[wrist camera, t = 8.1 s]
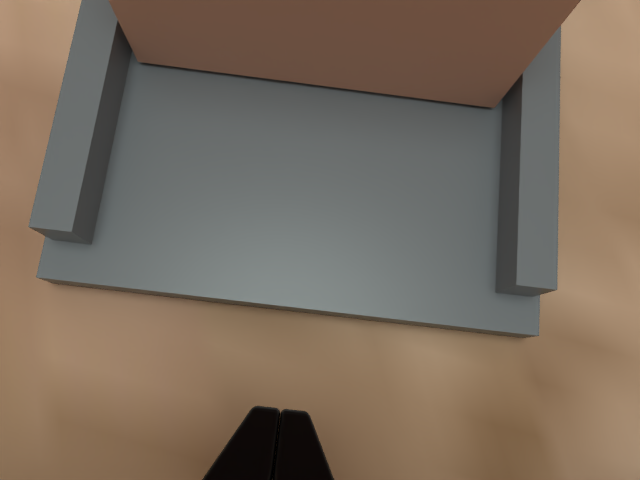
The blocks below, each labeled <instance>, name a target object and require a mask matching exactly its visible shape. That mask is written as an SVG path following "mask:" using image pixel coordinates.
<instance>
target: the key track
mask: <svg viewBox="0 0 640 480" xmlns="http://www.w3.org/2000/svg"><path fill="white" fill-rule="evenodd" d="M560 48H561V26H560V27H559V28H558V29H557V31H556V32H555V33H554V34H553V36H552V37H551V38H550V39H549V41H548V42H547V43H546V44H545V46H544V47H543V48H542V49H541V51H540V52H539V53H538V54H537V56H536V57H535V58H534V59H533V61H532V62H531V63H530V64H529V66H528V67H527V68H526V69H525V71H524V72H523V73H522V74H521V76H520V77H519V78H518V79H517V81H516V82H515V83H514V84H513V86H512V87H511V88H510V89H509V91H508V92H507V93H506V94H505V96H504V97H503V98H502V99H501V100H500V102H499V103H498V104H497V105H496V107H495V108H490V107H483V106H475V105H467V104H460V103H452V102H444V101H436V100H429V99H421V98H413V97H405V96H398V95H390V94H382V93H375V92H367V91H359V90H351V89H344V88H336V87H328V86H320V85H313V84H305V83H297V82H290V81H282V80H274V79H266V78H259V77H251V76H243V75H235V74H228V73H220V72H212V71H205V70H197V69H189V68H181V67H174V66H166V65H158V64H150V63H143V62H138V61H137V59H136V56H135V54H134V52H133V50H132V48H131V46H130V44H129V42H128V40H127V38H126V36H125V34H124V32H123V30H122V28H121V26H120V23H119V21H118V19H117V17H116V15H115V13H114V11H113V9H112V7H111V5H110V3H109V1H108V0H82V1H81V6H80V10H79V14H78V18H77V23H76V27H75V31H74V35H73V40H72V44H71V48H70V52H69V57H68V61H67V65H66V69H65V74H64V78H63V82H62V86H61V91H60V95H59V99H58V103H57V108H56V112H55V116H54V120H53V125H52V129H51V133H50V137H49V142H48V146H47V150H46V154H45V159H44V163H43V167H42V171H41V175H40V180H39V184H38V188H37V192H36V197H35V201H34V205H33V209H32V214H31V218H30V222H29V226H28V227H30V228H32V229H33V230H35V231H37V232H39V233H41V234H43V235H44V236H45V241H44V245H43V250H42V254H41V258H40V263H39V267H38V271H37V276H36V277H37V278H39V279H42V280H45V281H48V282H50V283H56V284H64V285H73V286H81V287H90V288H99V289H107V290H116V291H124V292H133V293H142V294H150V295H159V296H167V297H176V298H185V299H193V300H202V301H210V302H219V303H228V304H236V305H245V306H253V307H262V308H271V309H279V310H288V311H296V312H305V313H314V314H322V315H331V316H340V317H348V318H357V319H365V320H374V321H383V322H391V323H400V324H408V325H417V326H426V327H434V328H443V329H451V330H460V331H469V332H477V333H486V334H494V335H503V336H512V337H520V338H526V337H534V336H539V311H540V295H541V294H544V293H548V292H551V291H555V290H557V265H558V193H559V120H560Z"/></svg>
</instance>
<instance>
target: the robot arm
mask: <svg viewBox="0 0 640 480" xmlns="http://www.w3.org/2000/svg"><path fill="white" fill-rule="evenodd" d="M279 420H280V423H279ZM278 428H279V431H278ZM277 437H278V439H277ZM276 445H277V447H276ZM275 453H276V455H275ZM274 462H275V463H274ZM273 470H274V471H273ZM272 478H273V479H272ZM202 480H334V478H333V475H332V473H331V470H330V467H329V465H328V462H327V460H326V457H325V454H324V452H323V449H322V446H321V444H320V441H319V438H318V436H317V433H316V430H315V428H314V425H313V423H312V420H311V417H310V415H309V414H308V413H307V412H305V411H298V410H289V409H284V410H282V412H281V415H280V411H279V409H277V408H272V407H263V406H255V407H253V408H252V409H251V410H250V412H249V413H248V414H247V416H246V417H245V419H244V420H243V422H242V423H241V424H240V426H239V427H238V429H237V430H236V432H235V433H234V435H233V436H232V437H231V439H230V440H229V442H228V443H227V445H226V446H225V447H224V449H223V450H222V452H221V453H220V455H219V456H218V458H217V459H216V460H215V462H214V463H213V465H212V466H211V468H210V469H209V470H208V472H207V473H206V475H205V476H204V478H203V479H202Z"/></svg>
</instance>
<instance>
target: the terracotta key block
mask: <svg viewBox="0 0 640 480" xmlns="http://www.w3.org/2000/svg"><path fill="white" fill-rule="evenodd" d="M108 1H109V3H110V5H111V7H112V9H113V11H114V13H115V15H116V17H117V19H118V21H119V23H120V26H121V28H122V30H123V32H124V34H125V36H126V38H127V40H128V42H129V44H130V46H131V48H132V50H133V52H134V54H135V56H136V59H137V61H138V62H143V63H150V64H158V65H166V66H174V67H181V68H189V69H197V70H205V71H212V72H220V73H228V74H235V75H243V76H251V77H259V78H266V79H274V80H282V81H290V82H297V83H305V84H313V85H320V86H328V87H336V88H344V89H351V90H359V91H367V92H375V93H382V94H390V95H398V96H405V97H413V98H421V99H429V100H436V101H444V102H452V103H460V104H467V105H475V106H483V107H490V108H495V107H496V105H497V104H498V103H499V102H500V100H501V99H502V98H503V97H504V96H505V94H506V93H507V92H508V91H509V89H510V88H511V87H512V86H513V84H514V83H515V82H516V81H517V79H518V78H519V77H520V76H521V74H522V73H523V72H524V71H525V69H526V68H527V67H528V66H529V64H530V63H531V62H532V61H533V59H534V58H535V57H536V56H537V54H538V53H539V52H540V51H541V49H542V48H543V47H544V46H545V44H546V43H547V42H548V41H549V39H550V38H551V37H552V36H553V34H554V33H555V32H556V31H557V29H558V28H559V27H560V26H561V24H562V23H563V22H564V21H565V19H566V18H567V17H568V16H569V14H570V13H571V12H572V11H573V9H574V8H575V7H576V6H577V4H578V3H579V2H580V1H581V0H108Z"/></svg>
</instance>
